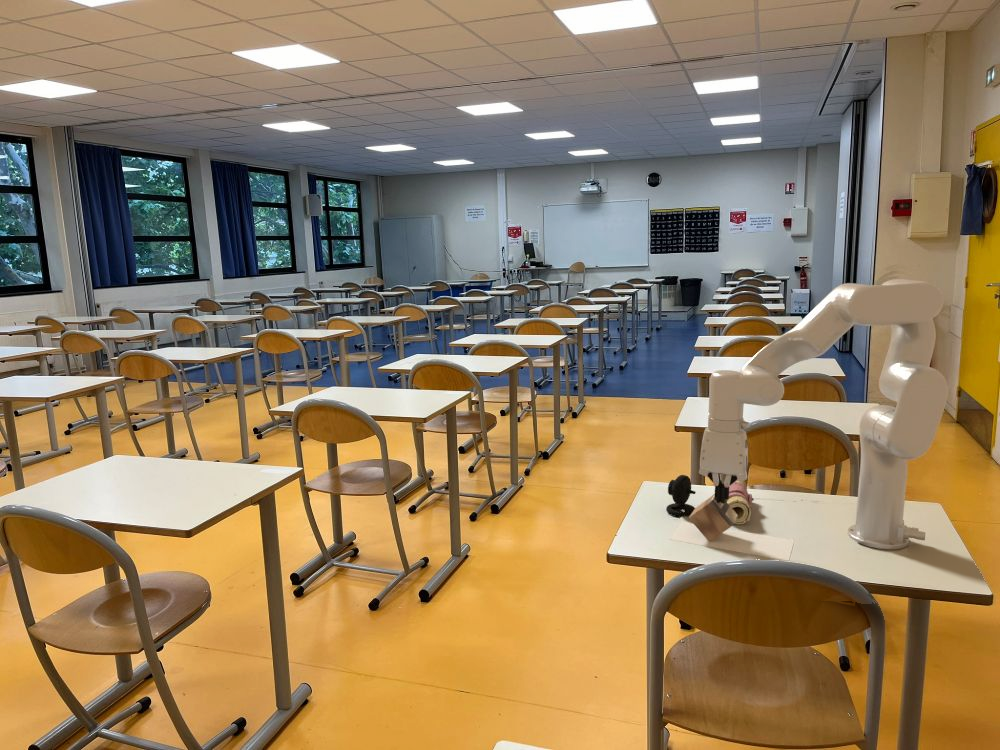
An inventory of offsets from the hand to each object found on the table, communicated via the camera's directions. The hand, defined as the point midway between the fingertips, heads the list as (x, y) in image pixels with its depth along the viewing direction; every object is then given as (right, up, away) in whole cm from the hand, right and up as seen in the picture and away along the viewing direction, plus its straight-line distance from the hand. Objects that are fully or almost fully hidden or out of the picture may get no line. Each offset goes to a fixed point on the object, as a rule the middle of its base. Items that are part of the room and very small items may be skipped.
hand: (721, 501), depth 164 cm
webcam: (-5, -6, +19) cm, 20 cm away
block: (+1, -2, 0) cm, 2 cm away
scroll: (+10, -7, +18) cm, 22 cm away
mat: (+3, -9, +1) cm, 10 cm away
